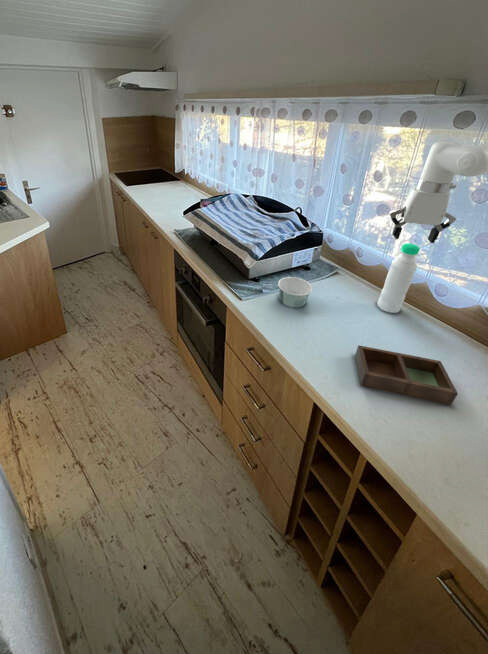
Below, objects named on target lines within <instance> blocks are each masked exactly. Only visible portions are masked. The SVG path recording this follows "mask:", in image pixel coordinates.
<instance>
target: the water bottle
mask: <svg viewBox="0 0 488 654" xmlns="http://www.w3.org/2000/svg"><path fill="white" fill-rule="evenodd" d="M419 253H420V247H419V246H418V245H416V244H413V243H409V242H408V243H403V244H402V245H401V249H400V254H398V255H397V257H395V258H394V259H393V260H392V261H391V264H390V268H389V270H388V272H387V275H386V278H385V280H384V285H383V287H382V290H381V292H380V296H379V298H378V300H377V307H378V308H379V309H380V310H382V311H384V312H386V313H390V314H396V313H399V312H400V311H401V309H402V306H403V302H404V301H405V298H406V295H407V293H408V291H409V288H410V287H411V284H412V282H413V279H414V275H415V273H416V272H417V269H418V265H417V259H416V256H418V254H419Z"/></svg>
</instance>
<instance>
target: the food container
mask: <svg viewBox="0 0 488 654" xmlns="http://www.w3.org/2000/svg"><path fill="white" fill-rule="evenodd" d="M277 287H278V290H279V292H278V293H279V300H280V302H281V304H283V305H284V306H287V307H291V308H302V307H303V306H305V304H306V302H307V300H308V298H309V296H310V294H311V293H312V291H313V286H312V285H311V283H309V282H308V281H307V280H305V279H303V278H300V277H296V276H286V277H283V278H280V279H279V280H278V282H277Z"/></svg>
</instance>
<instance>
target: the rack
mask: <svg viewBox="0 0 488 654" xmlns="http://www.w3.org/2000/svg"><path fill="white" fill-rule="evenodd" d="M354 361H355V365H356V370H357V374H358V375H357V376H358V379H359V384H360V386H361V387H366V388H370V389H373V390H374V389H375V390H379V391H382V392H383V391H384V392H388V393H392V394H397V395H400V396H401V395H402V396H406V397H410V398H414V399H420V400H423V401H428V402H431V403H437V404H440V405H446V406H450V407H451V406H452V404H453V402H454V401H455V399H456V398H457V396H458V395H459V393H458V391H457V389H456V387H455V386H454V383H453V382H452V380H451V378H450V376H449V374H448V372H447V370H446V367H444V364H443V362H442V361H441V360H438V359H437V360H436V359H432V358H427V357H422V356H417V355H411V354H408V353H407V354H406V353H402V352H396V351H392V350H391V351H390V350H385V349H380V348H375V347H370V346H366V345H365V346H364V345H360V344H358V345H357V348H356V351H355V354H354Z"/></svg>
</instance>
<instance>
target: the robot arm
mask: <svg viewBox="0 0 488 654" xmlns="http://www.w3.org/2000/svg"><path fill="white" fill-rule="evenodd" d="M485 174H488V143H484V144H479V145H478V144H477V145H476V144H475V145H465V144H464V143H463V142H459V141H453V140H452V141H451V140H439V141H436V142H434V143H433V144H432V145H431V147H430V149H429V152H428V155H427V158H426V160H425V163H424V165H423V169H422V172H421V174H420V177H419V180H418V183H417V186H416V187H413V188H412V189H411V191H410V193H409V194H408V196H407V198H406V200H405V201H404V204H403V206H402V207H399V208H397V209H393V210H390V211H389V216H390V221H392V223H393V224H394V228H393V231H392V236H393V238H394V239H395V240H399V239H400V235H401V233H402V231H403V227H402V226H405V225H406V224H407V223H408V224H415V225H425V226H426V225H427V226H433V227H432V228H431V230H430V232H429V234H428V237H427V240H428V242H430V243H431V244H435V241H437V240H438V237H439V236H440V233H441V232H443V231H444V230H445V229H447V228H449V227H450V226H451V225H452V224H453V223H454V222H455V221H457V217H455V216H454V215H452V214H451V213H449V212H447V209H448V206H449V202H450V196H451V195H450V190H452V189H453V190H455V189H456V187H457V184H456V183H453V181H454V178H455V176H456V175H458V176H462V177H476V176H481V175H485ZM398 215H399V218H398V219H397V216H398ZM445 218H446V220H445V221H444V219H445Z"/></svg>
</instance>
